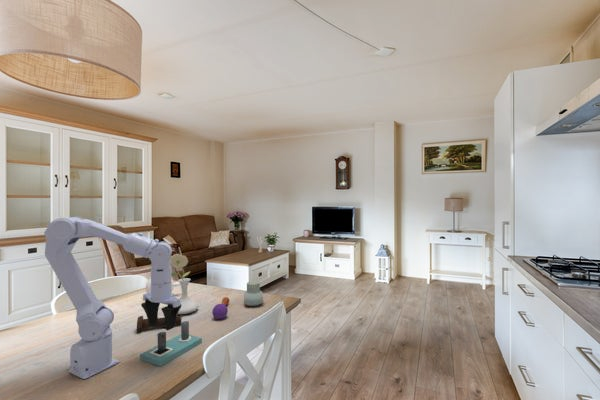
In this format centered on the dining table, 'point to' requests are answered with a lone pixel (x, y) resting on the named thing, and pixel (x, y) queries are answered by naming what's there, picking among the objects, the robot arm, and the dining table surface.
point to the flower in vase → (183, 284)
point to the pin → (161, 343)
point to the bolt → (160, 322)
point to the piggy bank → (148, 285)
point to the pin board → (172, 347)
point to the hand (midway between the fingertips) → (161, 326)
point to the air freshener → (253, 294)
